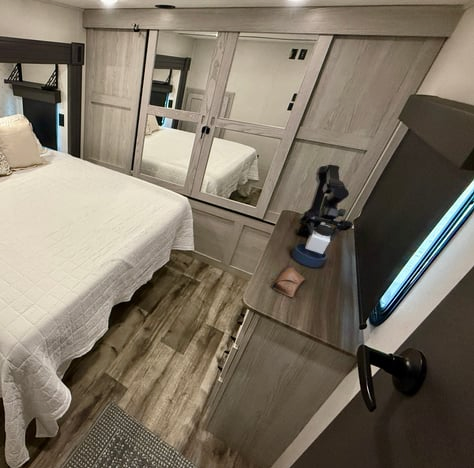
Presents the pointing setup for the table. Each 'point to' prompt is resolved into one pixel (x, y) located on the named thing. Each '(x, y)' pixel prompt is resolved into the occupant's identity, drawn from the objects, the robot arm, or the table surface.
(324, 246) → the medicine bottle
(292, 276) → the sunglasses case
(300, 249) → the blue round bowl
